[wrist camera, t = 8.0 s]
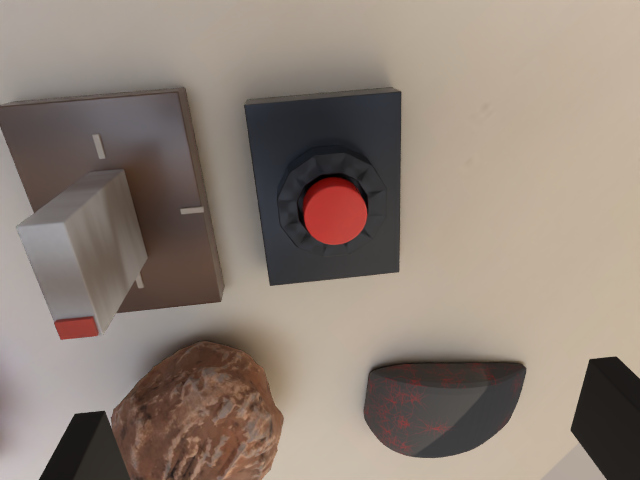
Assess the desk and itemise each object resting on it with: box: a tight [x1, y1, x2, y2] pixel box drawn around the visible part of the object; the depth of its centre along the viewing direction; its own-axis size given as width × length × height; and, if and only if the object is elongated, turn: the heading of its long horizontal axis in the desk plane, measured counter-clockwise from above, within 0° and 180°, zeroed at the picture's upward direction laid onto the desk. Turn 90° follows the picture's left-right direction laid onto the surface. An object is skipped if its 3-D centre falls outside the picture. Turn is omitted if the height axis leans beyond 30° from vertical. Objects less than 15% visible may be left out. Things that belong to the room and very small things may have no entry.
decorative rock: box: [111, 341, 284, 480], centre depth 31 cm, size 13×11×10 cm
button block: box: [244, 87, 401, 286], centre depth 27 cm, size 12×9×4 cm
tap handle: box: [16, 169, 148, 340], centre depth 23 cm, size 6×2×8 cm, turn 4°
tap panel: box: [0, 87, 224, 313], centre depth 27 cm, size 14×10×2 cm
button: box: [303, 177, 367, 245], centre depth 25 cm, size 4×4×2 cm
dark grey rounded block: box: [364, 363, 526, 458], centre depth 36 cm, size 8×14×4 cm, turn 87°
